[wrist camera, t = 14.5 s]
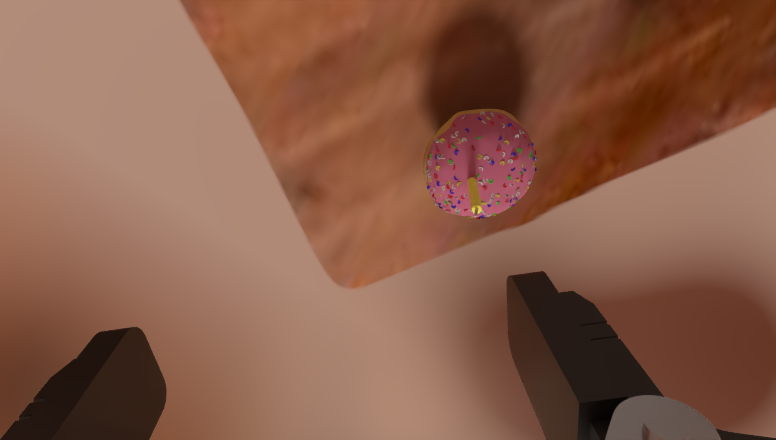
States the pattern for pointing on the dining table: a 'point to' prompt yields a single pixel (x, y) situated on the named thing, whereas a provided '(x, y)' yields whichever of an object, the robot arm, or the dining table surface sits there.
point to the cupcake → (479, 163)
